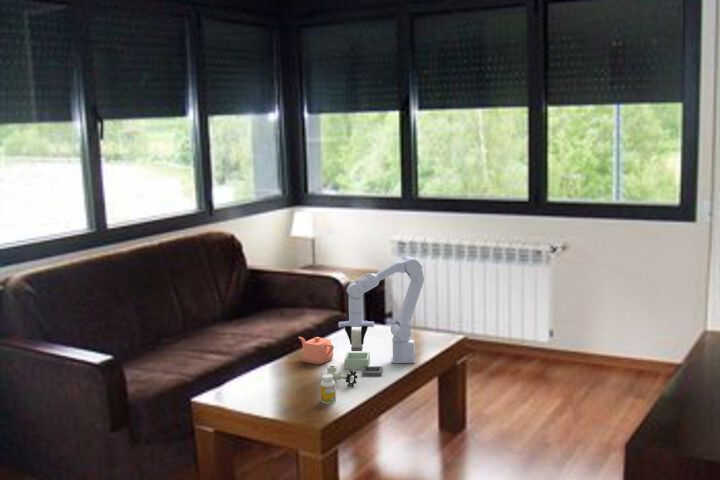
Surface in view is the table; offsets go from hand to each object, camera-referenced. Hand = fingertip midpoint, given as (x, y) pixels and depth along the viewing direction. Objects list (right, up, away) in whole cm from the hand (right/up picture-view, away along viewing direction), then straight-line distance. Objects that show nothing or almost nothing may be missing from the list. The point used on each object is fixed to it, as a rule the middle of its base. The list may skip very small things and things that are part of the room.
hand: (356, 343), depth 323 cm
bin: (0, -9, +1) cm, 9 cm away
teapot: (-17, -9, +9) cm, 21 cm away
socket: (+6, -11, -9) cm, 15 cm away
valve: (-6, -13, -21) cm, 25 cm away
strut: (0, -2, 0) cm, 3 cm away
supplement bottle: (-10, -16, -38) cm, 43 cm away
